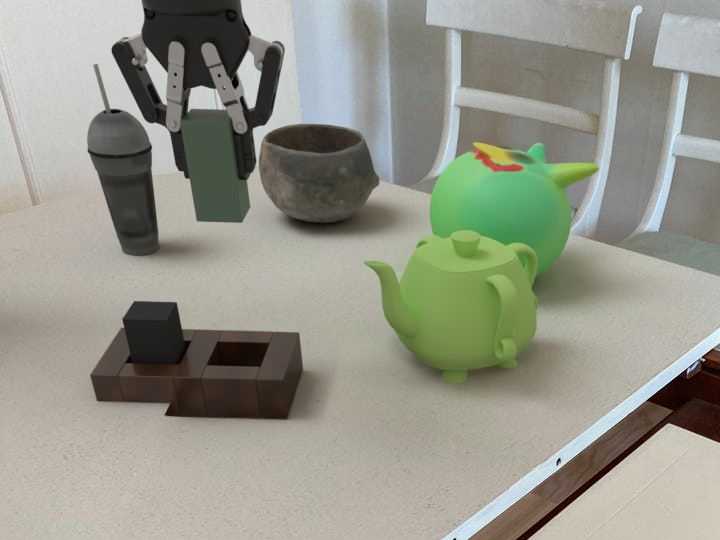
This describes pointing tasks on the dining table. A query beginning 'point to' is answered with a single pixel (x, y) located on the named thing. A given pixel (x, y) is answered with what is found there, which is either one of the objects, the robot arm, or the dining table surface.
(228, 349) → the wooden socket block
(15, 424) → the dining table surface
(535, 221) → the toy bird
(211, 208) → the pin
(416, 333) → the teapot
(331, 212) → the bowl
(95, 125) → the beverage cup
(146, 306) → the pin
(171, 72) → the robot arm
